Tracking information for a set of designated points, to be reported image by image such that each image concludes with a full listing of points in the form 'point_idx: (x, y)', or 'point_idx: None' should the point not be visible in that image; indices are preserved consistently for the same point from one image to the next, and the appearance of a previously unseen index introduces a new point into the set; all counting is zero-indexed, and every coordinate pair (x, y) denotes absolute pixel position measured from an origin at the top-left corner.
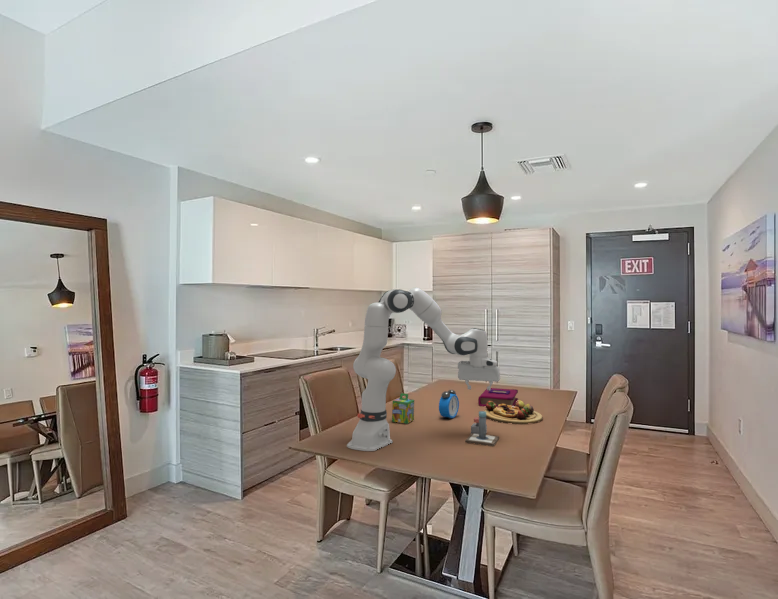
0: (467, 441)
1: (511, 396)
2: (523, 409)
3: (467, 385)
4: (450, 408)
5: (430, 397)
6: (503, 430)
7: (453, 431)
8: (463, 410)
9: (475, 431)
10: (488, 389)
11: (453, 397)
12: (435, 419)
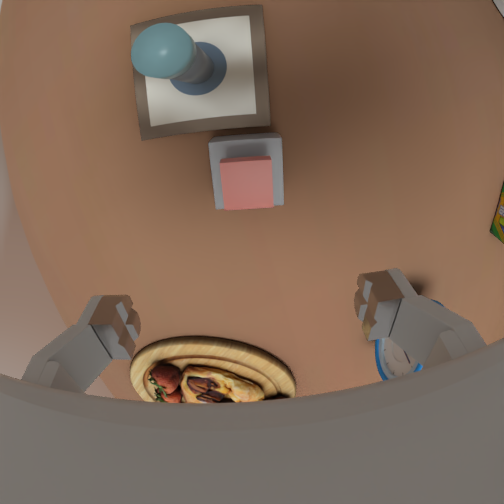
0: (250, 6)
1: None
2: (167, 400)
3: (421, 298)
4: None
5: None
6: (172, 257)
7: (361, 148)
8: (355, 383)
9: (254, 135)
10: (104, 300)
11: (410, 371)
12: (436, 275)
